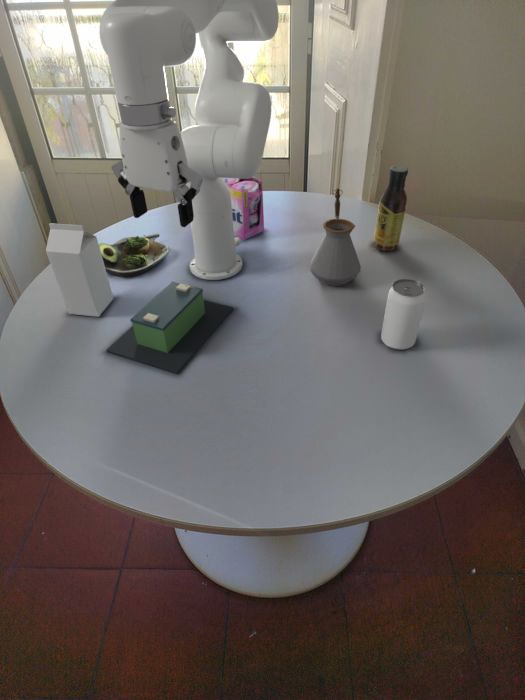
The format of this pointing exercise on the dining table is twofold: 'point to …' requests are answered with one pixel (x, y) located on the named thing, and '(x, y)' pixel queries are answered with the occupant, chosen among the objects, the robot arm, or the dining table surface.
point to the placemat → (182, 350)
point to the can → (403, 314)
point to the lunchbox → (168, 316)
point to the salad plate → (132, 255)
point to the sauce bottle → (391, 210)
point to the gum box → (246, 206)
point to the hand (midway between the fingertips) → (163, 219)
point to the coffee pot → (336, 252)
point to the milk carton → (79, 269)
